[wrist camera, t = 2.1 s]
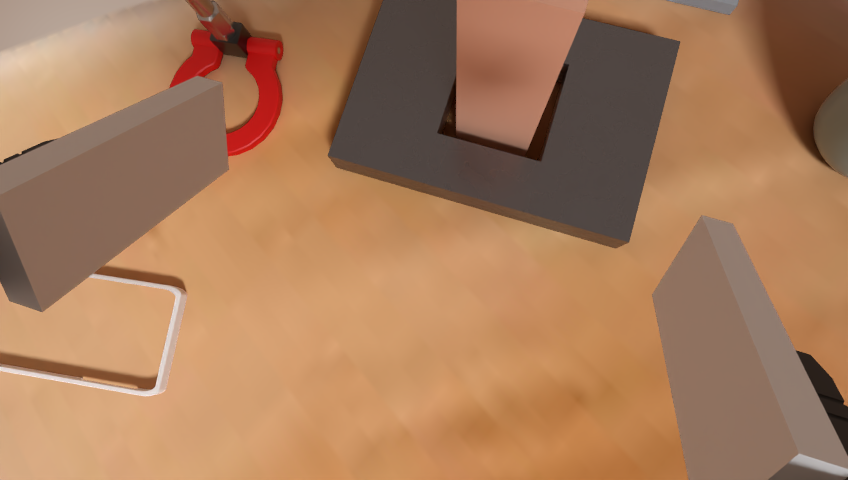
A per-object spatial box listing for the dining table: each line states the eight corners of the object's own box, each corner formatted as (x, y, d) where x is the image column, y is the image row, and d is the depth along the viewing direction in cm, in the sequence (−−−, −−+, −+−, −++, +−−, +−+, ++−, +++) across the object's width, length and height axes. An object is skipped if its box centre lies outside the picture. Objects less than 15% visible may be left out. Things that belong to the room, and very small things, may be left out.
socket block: (664, 61, 35) (680, 41, 32) (616, 248, 33) (628, 242, 30) (397, -4, 37) (393, -28, 34) (336, 167, 35) (327, 155, 32)
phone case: (192, 288, 35) (-1, 258, 36) (182, 287, 33) (-19, 256, 34) (168, 395, 33) (-31, 360, 35) (156, 398, 32) (-51, 362, 33)
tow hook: (271, 166, 36) (297, 48, 37) (164, 92, 23) (209, -87, 24) (164, 149, 37) (193, 33, 38) (3, 68, 24) (53, -105, 25)
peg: (543, 92, 35) (616, -99, 19) (524, 156, 34) (584, 13, 18) (476, 74, 35) (493, -126, 20) (456, 137, 35) (457, -18, 19)
